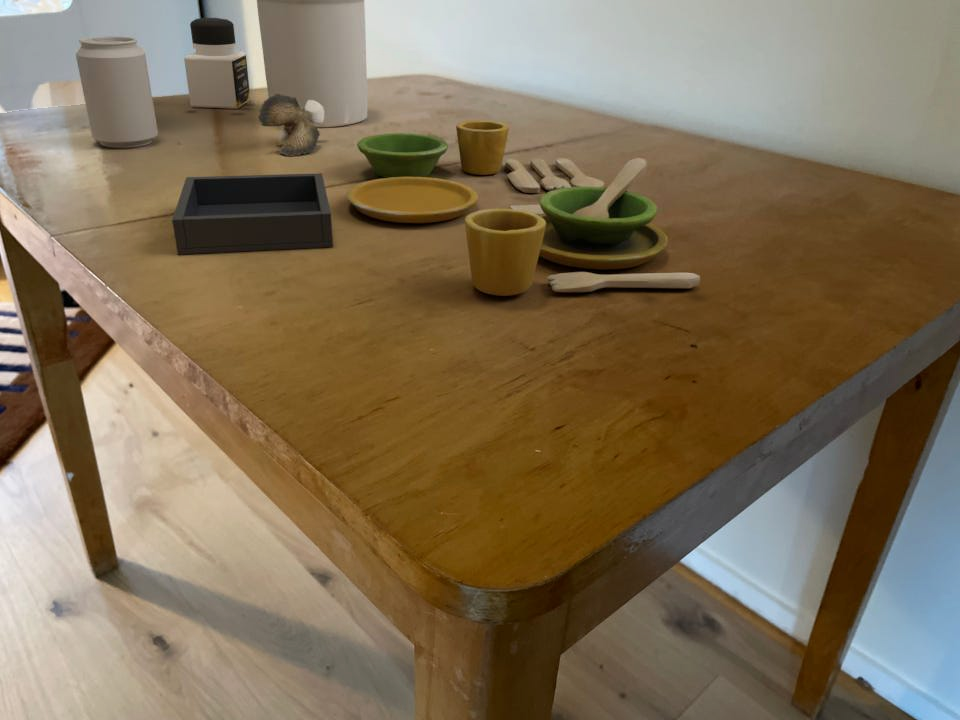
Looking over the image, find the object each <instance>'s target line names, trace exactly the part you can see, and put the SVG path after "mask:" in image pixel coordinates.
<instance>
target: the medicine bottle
mask: <svg viewBox="0 0 960 720" xmlns="http://www.w3.org/2000/svg"><path fill="white" fill-rule="evenodd" d="M189 25H190V34H191V42H192V49H194V50H195V52H194V53H191V54H189V55H186V56H184V58H183V60H184V69H185V75H186V83H187V89H188V97H189V105H190V107H191V108H197V109H200V108H203V109H226V110H227V109H229V110H238V109H240V108H241V107H242V106H244V105H245V104H247V103H248V102H250V101H251V90H250V81H249V73H248V72H249V71H248V62H247V53H245V52H244V51H236V49H237V44H236V36H235V24H234V23H233V22H232V21H231V20H229V19H227V18H220V17H200V18H199V17H198V18H195V19H194V20H191V22H190V24H189Z"/></svg>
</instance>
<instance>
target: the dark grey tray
mask: <svg viewBox="0 0 960 720" xmlns="http://www.w3.org/2000/svg"><path fill="white" fill-rule="evenodd" d="M324 180H325V179H324V176H323V173H319V172H318V173H287V174H285V173H284V174H282V173H281V174H250V175H248V174H246V175H215V176H212V175H211V176H187V177H186V178H185V180H184V183H183V186H182V188H181V191H180V196H179V198H178V201H177V204H176V207H175V210H174V213H173V217H172V220H171V222H172V228H173V233H174V234H173V235H174V240H175V247H176V252H177V255H178V256H179V255H197V254H198V255H200V254H219V253H239V252H258V251H259V252H261V251H279V250H280V251H281V250H297V249H298V250H300V249H301V250H302V249H321V248H333V247H334V245H333V244H334V241H333V240H334V239H333V226H332V225H333V224H332V211H331V208H330V204H329V198H328V194H327V189H326V184H325V181H324Z"/></svg>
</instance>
